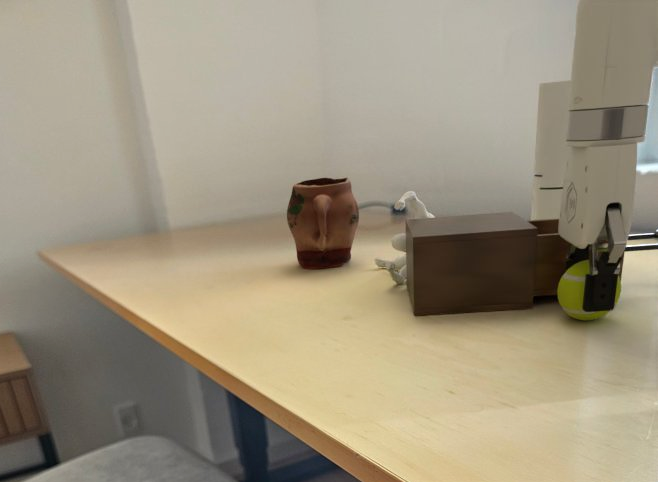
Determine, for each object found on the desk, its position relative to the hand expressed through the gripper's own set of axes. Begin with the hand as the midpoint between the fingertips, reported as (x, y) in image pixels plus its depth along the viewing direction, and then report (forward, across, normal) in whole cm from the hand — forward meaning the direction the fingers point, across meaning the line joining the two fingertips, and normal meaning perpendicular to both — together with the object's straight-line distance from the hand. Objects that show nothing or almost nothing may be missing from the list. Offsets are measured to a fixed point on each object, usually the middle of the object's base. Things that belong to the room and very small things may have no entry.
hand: (587, 300), depth 75 cm
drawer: (+1, -13, +3) cm, 14 cm away
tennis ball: (+2, 0, 0) cm, 2 cm away
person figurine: (+2, -29, -17) cm, 34 cm away
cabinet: (+2, -13, -12) cm, 18 cm away
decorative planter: (+2, -41, -32) cm, 52 cm away
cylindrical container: (+2, -35, +5) cm, 35 cm away
